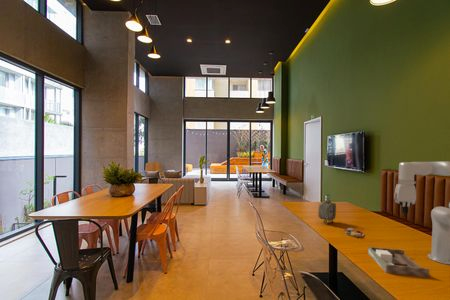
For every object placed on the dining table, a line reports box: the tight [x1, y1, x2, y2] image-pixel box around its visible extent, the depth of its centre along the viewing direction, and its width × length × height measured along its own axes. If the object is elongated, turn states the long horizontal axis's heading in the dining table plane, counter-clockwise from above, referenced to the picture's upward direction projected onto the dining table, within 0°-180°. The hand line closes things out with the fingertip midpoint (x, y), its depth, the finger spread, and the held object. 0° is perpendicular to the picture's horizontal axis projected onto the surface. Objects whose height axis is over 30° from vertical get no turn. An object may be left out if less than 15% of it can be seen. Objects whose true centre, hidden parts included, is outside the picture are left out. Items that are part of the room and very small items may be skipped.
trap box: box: [367, 246, 430, 278], centre depth 139 cm, size 20×24×4 cm
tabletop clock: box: [317, 194, 337, 226], centre depth 212 cm, size 14×9×25 cm, turn 131°
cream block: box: [376, 250, 392, 262], centre depth 141 cm, size 6×6×4 cm
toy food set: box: [343, 227, 365, 238], centre depth 186 cm, size 13×13×3 cm
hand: (404, 212), depth 148 cm, fingers closed
